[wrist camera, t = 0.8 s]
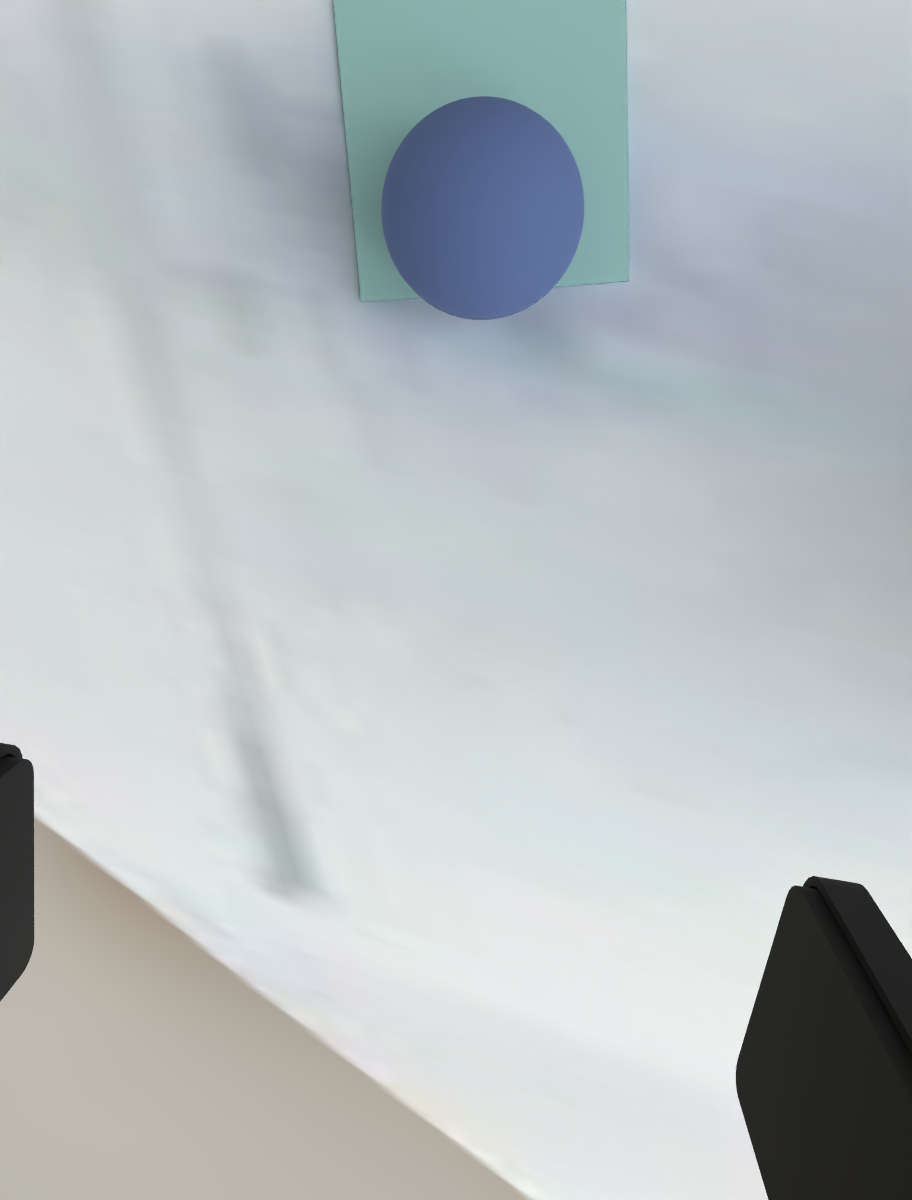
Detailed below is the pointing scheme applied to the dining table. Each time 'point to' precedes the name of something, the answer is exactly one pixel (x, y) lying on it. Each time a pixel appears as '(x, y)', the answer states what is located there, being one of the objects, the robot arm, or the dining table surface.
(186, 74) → the dining table surface
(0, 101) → the dining table surface
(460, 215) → the ball
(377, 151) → the panel
